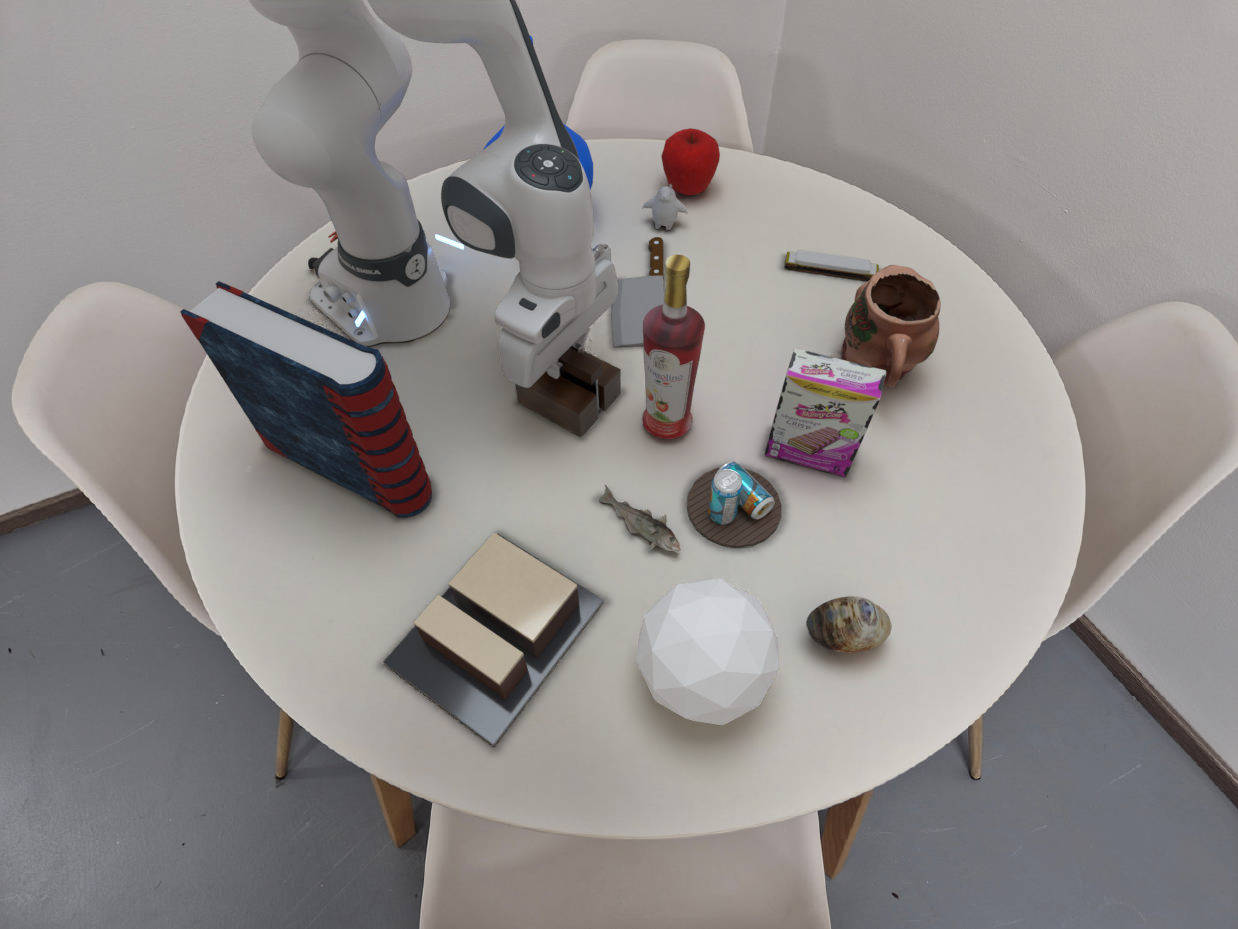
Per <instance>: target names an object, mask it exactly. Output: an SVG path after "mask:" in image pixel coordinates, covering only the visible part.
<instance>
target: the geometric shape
mask: <svg viewBox="0 0 1238 929" xmlns="http://www.w3.org/2000/svg"><path fill="white" fill-rule="evenodd" d="M766 612H767V611H766V610H765V608H764V607H763V604H762V602H761V600H760V598H758V597H757V596H754V594H750V593H749V592H747V591H745V590H743V589H741V588H739V587H737V586H736V585H735V584H734V585H733V584H732V583H730V582H728V581H726V580H725V579H722V578H706V579H705V578H704V579H692V580H689V581H685V582H683V583H682V582H681V583H679V584H676V585H675V586H673V587H672V588H671V589H670V590H668V591H667V592H666V593H665V594H664V595H662V596H661V597H659V598H658V600H657V601H656V602H655V603H654V605H653V606H651V607H650V609H649V610H648V611H647V612H646V613H645V615H644V616H643V619H642V623H641V626H640V630H639V636H638V638H639V639H638V644H637V649H636V650H637V651H636V659H635V663H636V665H637V668H638V669H639V671H640V673H641V675H642V677H643V679H644V681H645V683H646V686H647V687H648V689H649V691H650V694H651V695H652V698H653V699H654V702H656V703H658V704H659V705H661V706H662V707H664V708H666V709H668V710H670V711H672V712H673V713H675V714H677V715H679V716H681V717H682V718H684V719H686V720H689V721H693V722H697V723H705V724H712V725H719V726H725V725H726V724H728V723H730V722H732V721H734V720H736V719H738V718H740V717H742V716H743V715H745V714H747V713H749V712H751V711H752V710H755V709H757V708H758V707H760V706H761V704H762V702H763V700H764V699H765V696H766V695H767V693H768V691H769V689H770V688H771V686H772V684H773V682H774V680H775V679H776V676H777V675H778V673H779V671H780V669H781V668H780V652H779V638H778V636H777V633H776V632H775V630H774V627H773V625H772V624H771V621H770V619H769V617H768V615H767V613H766Z"/></svg>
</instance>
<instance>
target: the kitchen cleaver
mask: <svg viewBox="0 0 1238 929" xmlns="http://www.w3.org/2000/svg"><path fill="white" fill-rule="evenodd" d="M648 249H649V250H650V256H649V259H650V263H649V264H650V267H651V268H650V269H649V272H648V275H644V276H636V277H629V278H622V279H617V283H618V295H617V298H616V300H615V302H614V303H613V304H612V305H611V330H612V333H611V334H612V344H613V347H614V348H621V347H643V320H644V317H645V316H646V314H647V313H648V312H649V311H650V310H651V309H653V308H655V307H657V306H659V305H663V302H664V296H665V290H664V239H663V238H662V237H661V236H654V237H652V238H651V239H650V240H649V241H648Z"/></svg>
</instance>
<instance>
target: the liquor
mask: <svg viewBox="0 0 1238 929" xmlns="http://www.w3.org/2000/svg"><path fill="white" fill-rule="evenodd" d="M690 272H691V260H690V259H689V257H687V256H686V255H683V254H672V255H669V256H668V257H667V258H666V260H665V268H664V277H665V278H664V279H665V290H664V302H663V305H659V306H657V307H655V308H653V309H651V310H650V311H649V312H648V313H647V314H646V316H645V317H644V320H643V346H642V350H643V351H642V353H643V365H644V366H643V370H644V387H645V390H644V392H645V408H644V410H643V412H642V416H641V417H642V418H641V421H642V425H643V427H644V429H645V430H646V431H647V432H648V433H649V434H651V435H652V436H654V437H656V438H659V439H664V440H673V439H677V438H680V437H682V436H684V435H685V434H687V433H688V432H689V431H690V429H691V428H692V425H693V422H694V419H693V418H694V417H693V414H692V412H691V411H692V403H693V397H694V390H695V384H696V379H697V375H698V369H699V364H700V359H701V355H702V348H703V342H704V335H705V329H706V322H705V320H704V318H703V316H702V314H701V313H700V312H699V311H698V310H696V309H695V308H693V307H692V306H689V305H688V295H687V292H688V291H687V285H688V282H689V278H690V275H691V274H690Z"/></svg>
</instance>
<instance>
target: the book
mask: <svg viewBox="0 0 1238 929" xmlns="http://www.w3.org/2000/svg"><path fill="white" fill-rule="evenodd" d="M215 286H216V289H215V290H214V291H213V292H212V293H211V294H209V295H208V296H206V297H205V298H204V299H203V300H202V301H200V302H199V303H198V304H197V305H195V306H194V307H193V308H192V309H190V310H187V309H186V308H183V309H181V310H180V311H179V314H180V315H181V318H182V319H183V321H184V323H185V324H186V325H187V327H188V328H189V330H190V332H191V333H192V334H193V336H194V337H195V338H196V340H197V341H198V343H199V344H200V346H201V347H202V349H203V350H204V352H205V353H206V355H207V356H208V358H209V359H210V361H211V363H212V364H213V366H214V367H215V369H216V371H217V372H218V374H219V375H220V377H221V378H222V380H223V381H224V383H225V385H226V386H227V388H228V389H229V391H230V393H231V394H232V396H233V397H234V398H235V400H236V402H237V404H238V405H239V407H240V408H241V410H242V411H243V413H244V415H245V416H246V417H247V419H248V421H249V423H250V424H251V425H252V427H253V428H254V430H255V432H256V434H257V435H258V436H259V438H260V440H261V442H262V443H263V445H264V446H265V447H266V448H267V449H269V450H270V451H272V452H274V453H276V454H278V455H280V456H282V457H283V458H285V459H287V460H290V461H291V462H294V463H296V464H298V465H300V466H302V467H304V468H306V469H307V470H309V471H311V472H313V473H315V474H317V475H319V476H321V477H323V478H325V479H327V480H328V481H330V482H333V483H335V484H336V485H338V486H341V488H344V489H346V490H347V491H349V492H352V493H354V494H355V495H358V496H359V497H362V498H363V499H365V500H368V501H369V502H371V503H373V504H375V505H377V506H379V507H381V508H383V509H384V510H386V511H389V512H390V513H392V514H393V515H394V516H395V517H396V518H398V519H401V518H403V519H404V518H405V519H406V518H411V517H414V516H417V515H420V514H421V513H422V512H423V511H425V510H426V509H427V508H428V506H429V505H430V504H431V501H432V500H433V499H432V497H433V488H432V481H431V478H430V477H429V474H428V473H427V470H426V466H425V462H424V460H423V457H422V456H421V454H420V449H419V447H418V443H417V442H416V440H415V438H414V433H413V431H412V428H411V425H410V424H409V421H408V418H407V415H406V412H405V409H404V406H403V404H402V402H401V400H400V396H399V392H398V390H397V388H396V385H395V383H394V381H393V376H392V374H391V371H390V369H389V365H388V364H387V362H386V359H385V358H384V355H382V353H381V352H380V350H379V349H378V348H373V347H370V346H363V345H361V344H359V343H357V342H355V341H354V340H353V339H351V338H348V337H345V336H344V335H342V334H339V333H337V332H334V331H332V330H330V329H328V328H325V327H323V326H321V325H319V324H316V323H314V322H312V321H309V320H307V319H305V318H302V317H301V316H299V315H296V314H294V313H292V312H290V311H287V310H285V309H282V308H281V307H278V306H277V305H274V304H271V303H270V302H267V301H265V300H262V299H260V298H258V297H256V296H254V295H251V294H249V293H247V292H245V291H244V290H241V289H239V288H237V287H234V286H232V285H229V284H227V283H225V282H222V281H220V280H218V281H216V283H215Z"/></svg>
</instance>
